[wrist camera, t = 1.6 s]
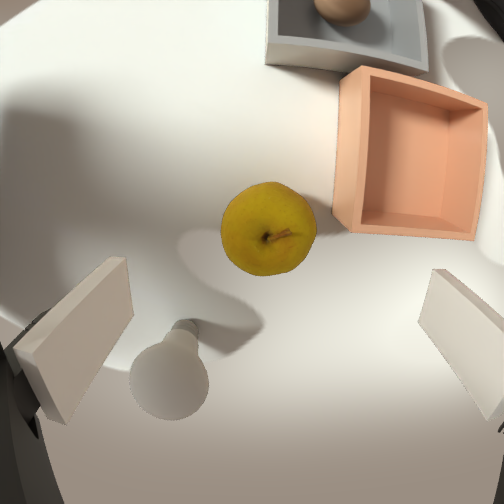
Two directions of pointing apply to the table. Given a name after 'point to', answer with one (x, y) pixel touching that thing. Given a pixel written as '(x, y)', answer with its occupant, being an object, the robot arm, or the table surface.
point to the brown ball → (343, 11)
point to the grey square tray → (348, 38)
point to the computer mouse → (493, 14)
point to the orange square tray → (408, 157)
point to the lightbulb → (170, 375)
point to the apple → (268, 229)
